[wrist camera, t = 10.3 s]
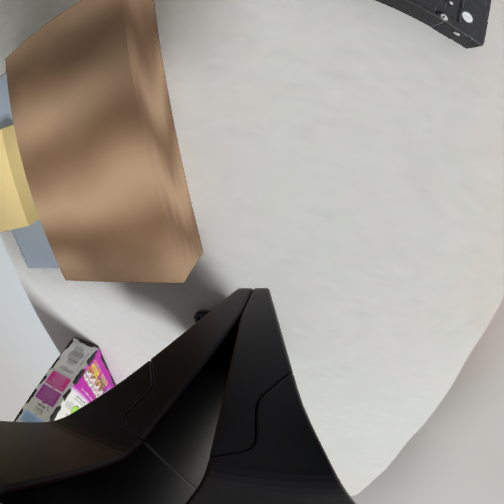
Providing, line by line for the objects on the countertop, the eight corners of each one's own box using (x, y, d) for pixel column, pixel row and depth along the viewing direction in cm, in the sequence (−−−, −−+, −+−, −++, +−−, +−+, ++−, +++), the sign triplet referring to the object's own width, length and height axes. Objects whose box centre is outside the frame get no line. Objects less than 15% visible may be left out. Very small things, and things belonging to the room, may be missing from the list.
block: (0, 232, 24) (12, 224, 25) (28, 225, 22) (42, 217, 24) (-25, 149, 19) (-12, 144, 21) (1, 128, 17) (16, 123, 19)
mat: (90, 265, 26) (88, 267, 25) (29, 266, 29) (28, 267, 28) (35, 48, 15) (33, 49, 15) (-19, 98, 18) (-21, 99, 18)
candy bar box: (72, 334, 34) (8, 423, 20) (99, 346, 33) (36, 445, 19) (94, 381, 39) (49, 458, 25) (120, 391, 39) (75, 475, 25)
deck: (203, 252, 22) (183, 282, 19) (90, 256, 25) (65, 280, 22) (152, -8, 13) (120, -22, 9) (39, 55, 16) (5, 58, 12)
